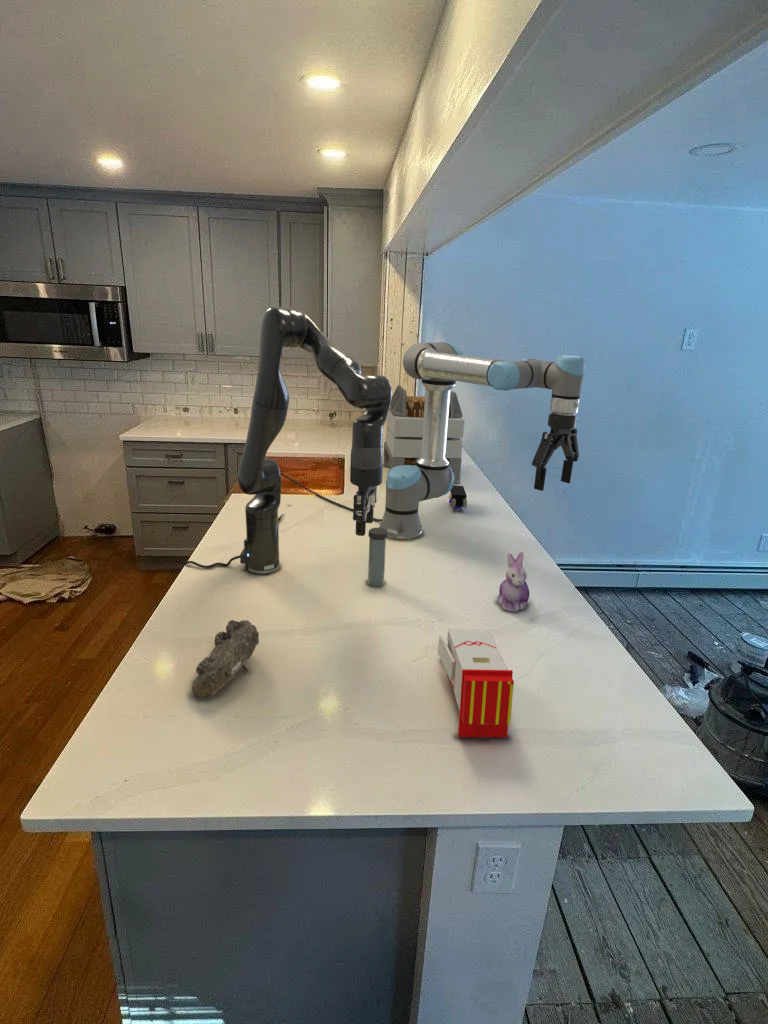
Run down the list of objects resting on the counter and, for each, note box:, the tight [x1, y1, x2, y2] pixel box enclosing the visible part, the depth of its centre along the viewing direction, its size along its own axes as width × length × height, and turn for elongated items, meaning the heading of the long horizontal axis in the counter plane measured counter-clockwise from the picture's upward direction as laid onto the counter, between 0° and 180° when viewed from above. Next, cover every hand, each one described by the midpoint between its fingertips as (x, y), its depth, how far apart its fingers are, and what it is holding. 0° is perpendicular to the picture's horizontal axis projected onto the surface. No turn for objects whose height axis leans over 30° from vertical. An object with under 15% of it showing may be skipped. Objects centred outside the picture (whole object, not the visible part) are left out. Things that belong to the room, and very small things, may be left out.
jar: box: [367, 536, 387, 587], centre depth 161 cm, size 5×5×16 cm
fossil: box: [191, 619, 260, 698], centre depth 121 cm, size 22×10×15 cm
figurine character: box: [448, 484, 468, 512], centre depth 228 cm, size 7×8×15 cm
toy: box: [437, 628, 515, 738], centre depth 117 cm, size 12×13×30 cm
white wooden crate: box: [383, 384, 465, 484], centre depth 268 cm, size 34×33×41 cm
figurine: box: [497, 551, 530, 612], centre depth 152 cm, size 9×10×15 cm
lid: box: [368, 527, 388, 540], centre depth 159 cm, size 5×5×2 cm
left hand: (364, 528), depth 136 cm, fingers open, 8 cm apart
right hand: (552, 485), depth 166 cm, fingers open, 13 cm apart
